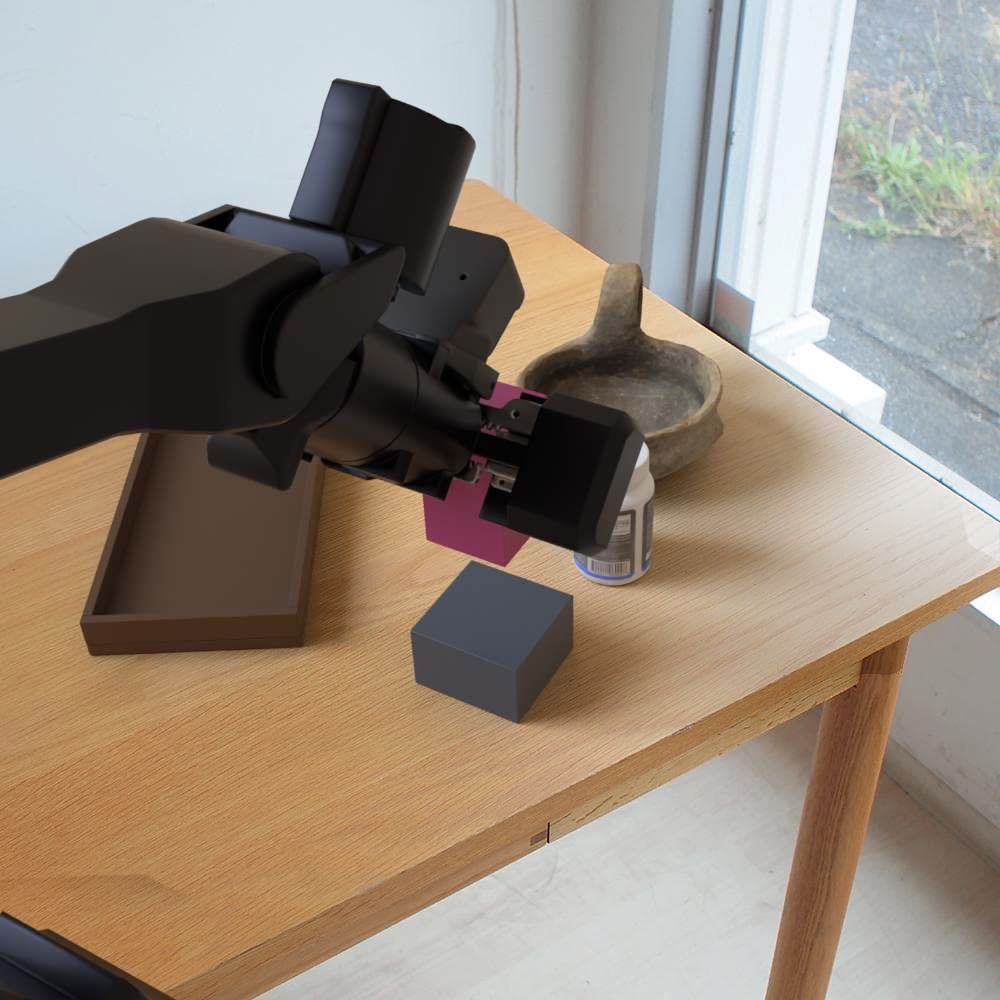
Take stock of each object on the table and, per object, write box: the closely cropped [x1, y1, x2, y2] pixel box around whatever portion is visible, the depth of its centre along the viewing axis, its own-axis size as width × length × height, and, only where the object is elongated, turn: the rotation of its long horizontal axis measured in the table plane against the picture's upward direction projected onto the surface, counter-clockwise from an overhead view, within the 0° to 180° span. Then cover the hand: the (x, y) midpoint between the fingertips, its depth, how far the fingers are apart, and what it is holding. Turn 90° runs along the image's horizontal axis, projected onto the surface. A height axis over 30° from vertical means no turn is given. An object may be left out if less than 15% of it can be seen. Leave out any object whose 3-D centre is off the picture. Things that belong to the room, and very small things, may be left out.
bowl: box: [514, 262, 725, 481], centre depth 87 cm, size 14×18×10 cm
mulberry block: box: [422, 380, 547, 568], centre depth 65 cm, size 5×5×8 cm
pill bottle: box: [573, 442, 656, 586], centre depth 78 cm, size 5×5×8 cm
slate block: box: [409, 559, 574, 724], centre depth 73 cm, size 6×6×4 cm
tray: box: [79, 433, 327, 656], centre depth 91 cm, size 41×12×3 cm, turn 1°
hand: (499, 465), depth 67 cm, fingers closed on mulberry block, 4 cm apart
